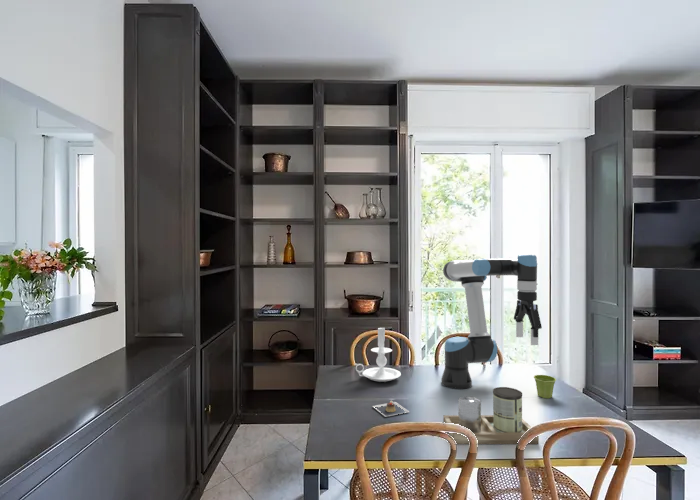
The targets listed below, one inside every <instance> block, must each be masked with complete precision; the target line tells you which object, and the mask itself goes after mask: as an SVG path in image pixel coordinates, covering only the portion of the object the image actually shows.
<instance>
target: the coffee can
mask: <svg viewBox="0 0 700 500" xmlns="http://www.w3.org/2000/svg"><path fill="white" fill-rule="evenodd" d="M492 398H493V400H492V404H493V405H492V407H493V408H492V409H493V411H492V412H493V414H492V415H493V424H494V425H493V428H494V429H495V430H496V431H498V432H522V419H523V392H522V391H521V390H518V389H516V388H513V387H508V386H498V387H495V388H493V389H492Z"/></svg>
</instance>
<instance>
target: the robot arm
mask: <svg viewBox="0 0 700 500" xmlns="http://www.w3.org/2000/svg"><path fill="white" fill-rule="evenodd" d="M442 272H443V275H444V277H445V278H446V279H447V280H449V281H451V282H455V283H456V282H460V283H461V286H462V287H463V288H464V290H465V291H464V293H465V301H466V309H467V310H466V311H467V316H468V325H469V334H468V336H467V337H465V336H453V337H449V338H447V339H446V340H445V342H444V370H443V373H442V375H441V382H440V383H441V385H442V386H445V387H447V388H449V389H457V390H464V389H469V388H472V386H473V380H472V377H471V374H470V372H469V371H470V370H469V364H478V363H484V364H485V363H490V362H493V361H495V360H496V357H497V355H498V345H497V342H496V341H495V339H493V338H492V336H491V335H492V334H490V333H489V332H488V327H487V321H486V320H487V319H486V314H485V313H486V310H485V305H484V297H483V289H482V287H483V286H484V285H485V283H484V282H485V281H486V280H487V279H488V278H487V276H488V277H489V276H517V281H516V284H517V285H516V287H517V288H516V289H517V295H516V296H517V301H516V307H515V311H514V316H513V319H514V320H515V324H516V325H515V326H516V327H515V328H516V330H515V333H516V334H515V335H516V336H515V337H516V338H524V318H525V316H526V315H527V316H528V320H529V323H530V326H531V327H530V345H531V346H539V330H540V329H541V330H542V322H541V318H540V314H539V313H540V312H539V306H538V304H536V303H535V304H534V302H536V301H537V300H538V299H537V298H538V297H537V296H538V293H537V289H538V286H537V285H538V283H537V282H538V280H537V278H538V258H537V255H535V254H518V255H517V258H513V257H509V258H476V259H466V260H465V259H462V260H459V259H457V260H455V259H454V260H450V261H448V262H446V263H445V264H444V265H443V270H442Z"/></svg>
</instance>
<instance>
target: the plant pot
mask: <svg viewBox="0 0 700 500" xmlns="http://www.w3.org/2000/svg"><path fill="white" fill-rule="evenodd" d="M533 378H534V380H535V387H536V393H537V394H536V395H537V396H538V397H539V398H540V397H541V398H542V399H550V398H553V393H554V388H555V386H554V385H555V384H556V381H557V379H556V377H554V376H551V375H546V374H536V375H534V376H533Z"/></svg>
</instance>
